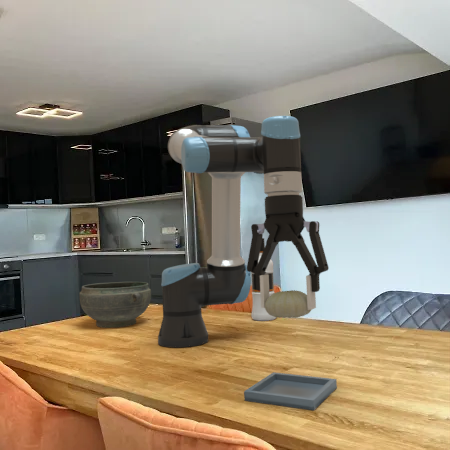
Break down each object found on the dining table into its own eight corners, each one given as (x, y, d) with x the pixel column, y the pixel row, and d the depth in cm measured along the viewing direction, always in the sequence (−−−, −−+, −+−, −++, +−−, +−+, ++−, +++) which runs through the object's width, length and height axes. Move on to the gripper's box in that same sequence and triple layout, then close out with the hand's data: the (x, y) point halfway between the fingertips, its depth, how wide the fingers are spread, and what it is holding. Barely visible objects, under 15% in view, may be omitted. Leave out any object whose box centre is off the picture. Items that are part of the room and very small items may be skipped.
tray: (244, 400, 98) (244, 391, 98) (273, 380, 110) (273, 372, 110) (313, 410, 91) (313, 400, 91) (336, 387, 103) (336, 379, 103)
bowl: (170, 323, 185) (168, 282, 186) (106, 335, 168) (105, 290, 168) (124, 315, 209) (123, 279, 209) (64, 324, 192) (63, 285, 192)
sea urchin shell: (257, 303, 105) (283, 275, 105) (284, 329, 105) (310, 300, 106) (265, 310, 95) (293, 279, 96) (295, 338, 96) (323, 306, 97)
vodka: (263, 322, 180) (259, 238, 181) (246, 319, 187) (243, 238, 188) (282, 318, 186) (278, 237, 186) (265, 316, 193) (261, 237, 194)
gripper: (226, 198, 103) (230, 308, 103) (330, 189, 92) (336, 313, 92) (243, 199, 109) (247, 303, 109) (342, 191, 99) (347, 306, 98)
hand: (288, 307), depth 100 cm, fingers closed on sea urchin shell, 9 cm apart
